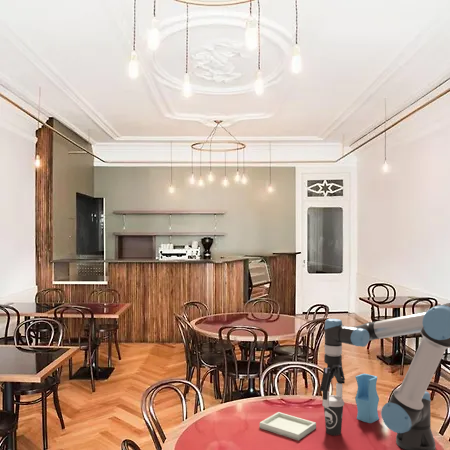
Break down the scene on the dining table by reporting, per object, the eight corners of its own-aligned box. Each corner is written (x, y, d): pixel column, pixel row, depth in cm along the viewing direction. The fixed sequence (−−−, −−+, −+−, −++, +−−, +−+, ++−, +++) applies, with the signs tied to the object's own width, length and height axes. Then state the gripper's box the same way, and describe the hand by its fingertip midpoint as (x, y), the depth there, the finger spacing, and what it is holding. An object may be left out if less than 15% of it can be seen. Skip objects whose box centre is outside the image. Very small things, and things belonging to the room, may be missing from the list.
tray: (316, 428, 204) (316, 422, 204) (298, 440, 191) (298, 434, 191) (278, 417, 216) (278, 411, 216) (259, 428, 204) (259, 422, 204)
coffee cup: (345, 438, 194) (345, 402, 194) (322, 436, 196) (322, 401, 196) (343, 428, 203) (343, 395, 204) (322, 427, 205) (322, 393, 206)
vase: (355, 418, 215) (355, 376, 215) (364, 414, 220) (364, 373, 221) (370, 423, 209) (370, 380, 209) (379, 419, 214) (378, 376, 215)
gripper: (337, 347, 213) (336, 392, 212) (312, 358, 193) (311, 408, 193) (352, 350, 208) (352, 396, 208) (328, 361, 188) (327, 412, 188)
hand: (332, 402), depth 200 cm, fingers open, 13 cm apart
